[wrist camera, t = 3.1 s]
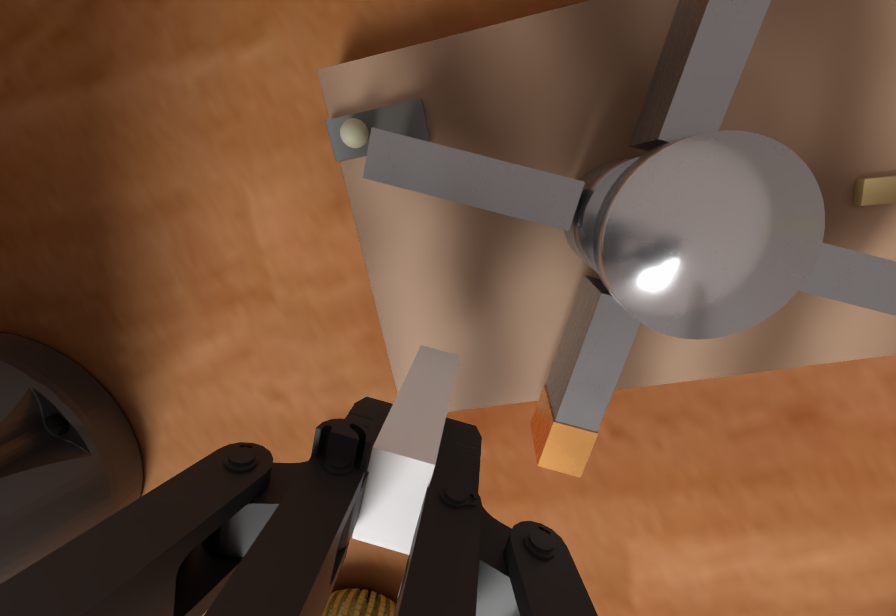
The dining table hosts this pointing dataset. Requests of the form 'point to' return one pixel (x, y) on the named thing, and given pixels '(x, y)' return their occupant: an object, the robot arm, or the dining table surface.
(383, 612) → the sculpture
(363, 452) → the robot arm
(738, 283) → the capstan
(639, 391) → the dining table surface
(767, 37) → the stand
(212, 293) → the dining table surface
